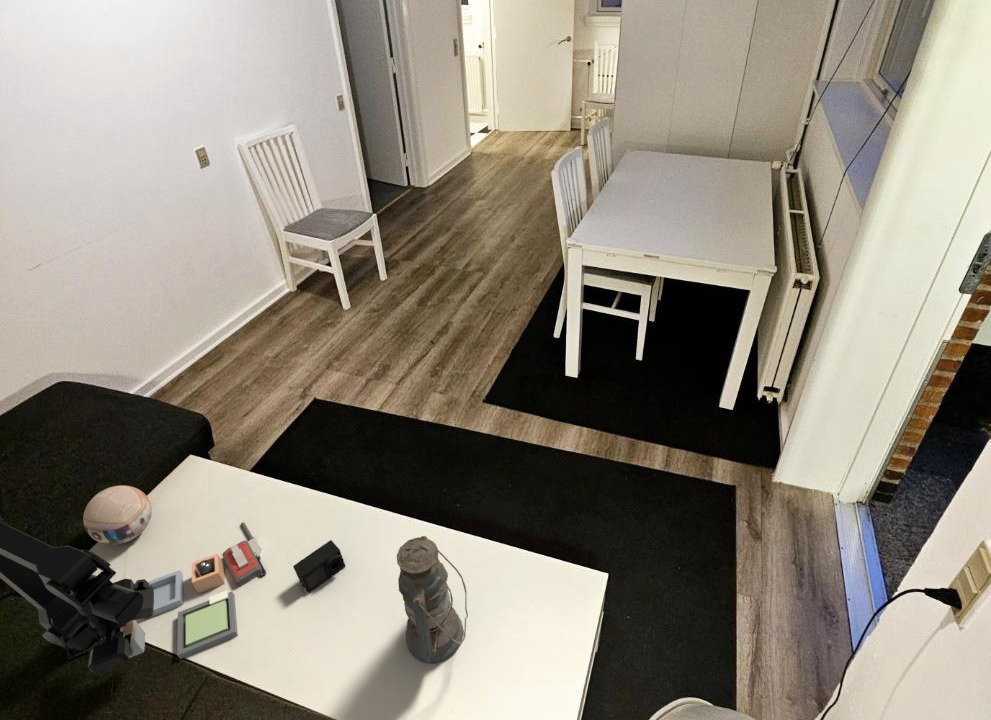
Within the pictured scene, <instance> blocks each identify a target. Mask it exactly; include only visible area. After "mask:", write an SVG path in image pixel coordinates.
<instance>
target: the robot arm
mask: <svg viewBox="0 0 991 720" xmlns="http://www.w3.org/2000/svg"><path fill="white" fill-rule="evenodd" d="M98 569H99V570H100V573H98V575H95V574H94V573H96V572H97V571H98ZM116 574H117V572H116V571H115V570H114V569H113V568H111V563H110V562H108V561H107V560H105V559H103V557H101V556H99V555H98V554H97V553H95V552H93V551H91V550H88V549H78V548H75V547H72V546H70V545H64V546H55V547H54V546H52V545H50V544H48V543H45V542H44V541H42V540H40V539H37V538H35V537H34V536H32V535H29V534H27V533H25V532H23V531H21V530H19V529H17V528H15V527H13V526H11V525H9V523H8V522H7V521H5V520H4V519H3V518H2V517H1V516H0V579H1V580H2V581H3V582H5V583H6V584H7V585H8V586H10V587H11V588H12V589H13V590H14V591H16V592H17V593H18V594H20V596H22V597H23V598H24V599H25V600H26V601H28V602H29V603H30V604H31V605H32V606H33V607H35V608H36V609H37V611H38V612H37V615H38V623H39V625H41V626H42V627H43V628H44V629H45V632H44V633H43V634H42V635H41V637H42V638H44V639H45V640H46V641H48V642H49V643H51V644H54V645H57V646H60V647H62V648H64V649H65V650H66V651H67V655H66V659H67V660H68V659H70V660H72V659H71V658H73V657H75V654H76V655H77V653H80V652H83V651H84V650H86V649H88V648H90V647H91V646H92V645H94V643H96V642H98V641H100V639H101V640H104V642H103V643H101V644H99V645H98V646H95V647H93V649H92V650H91V651H90V652H89V659H88V666H87V668H88V669H89V671H90V672H92V673H93V674H95V675H96V674H99V673H101V672H104V671H106V670H107V671H108V670H109V669H112V668H115V667H116V666H119V665H121V664H123V663H126V662H127V660H128V659H130V658H129V656H130V655H132V650H131V648H130V644H131V633H130V634H128V635H124V632H121V627H124V626H127V623H129V622H130V621H132V620H138V619H144V620H148V619H150V618H152V617H154V616H153V613H154V588H153V587H152V586H149V583H148V582H149V581H147V580H146V579H145V578H143V579H137V580H136V581H135V582H134V581H133V580H132V578H131V579H130V578H123V579H121V580H120V579H119V580H118V581H115V582H112V578H113V577H114V576H115V575H116ZM74 652H75V653H74ZM69 656H70V657H69ZM75 658H76V657H75ZM73 659H74V658H73Z"/></svg>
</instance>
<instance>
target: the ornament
mask: <svg viewBox="0 0 991 720" xmlns="http://www.w3.org/2000/svg"><path fill="white" fill-rule="evenodd" d="M152 512H153V510H152V504H151V502H150V500H149V497H148V496H147V494H145V493H144V491H142V490H140V489H139V488H137V487H134V486H130V485H115V486H114V485H113V486H110V487H107V488H104V489H103V490H101V491H99V492H98V493H97V494H95V495H94V496H93V497H92V498H91V500H90V501H88V503H87V505H86V507H85V509H84V512H83V516H82V521H83V526H84V529H85V531H86V533H87V534H88V535H89V536H90V537H91V538H92V539H93V540H94V541H96V542H99V543H101V544H104V545H120V544H121V545H122V544H124V543H127V542H130V541H132V540H134V539H135V538H137V537H138V536H139V535H141V534H142V533H143V532H144V531H145V530H146V529H147V527H148V525H149V523H150V521H151V518H152Z"/></svg>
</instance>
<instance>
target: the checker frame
mask: <svg viewBox="0 0 991 720" xmlns="http://www.w3.org/2000/svg"><path fill="white" fill-rule="evenodd" d="M208 598H209V599H208V600H206V601H204V602H202V603H199V604H196V605H194V606H193V605H192V606H191V607H188V608H186V609H185V608H184V609H183V610H181V611H178V612H177V638H176V639H177V641H176V642H177V645H176V646H177V649H176V652H177V654H176V655H177V657H178V658H179V660H183V659H184V658H187V657H189V656H191V655H193V654H197V653H198V652H201V651H203V650H206V649H208V648H211V647H213V646H216V645H218V644H221V643H224V642H225V641H227V640H228V641H229V640H231V639H232V638H235V637H237V636H238V635H239V634H238V624H237V623H238V621H237V610H236V609H237V608H236V597H235V593H234V591H228V589H227V590H223V591H221V592H218V593H216V594H213V595H211V596H209V597H208ZM224 600H225V601H226V603H228V614H229V627H230V628H229V629H228V630H227V631H225V632H222V633H220V634H217V635H215V636H212V637H210V638H208V639H205V640H203V641H200V642H198V643H195V644H193V645H190V646H188V647H187V646H186V615H189V614H191V613H194V612H196V611H199V610H201V609H204V608H206V607H209V606H212V605H214V604H217V603H219V602H222V601H224Z"/></svg>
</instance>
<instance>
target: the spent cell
mask: <svg viewBox="0 0 991 720" xmlns="http://www.w3.org/2000/svg"><path fill="white" fill-rule="evenodd" d="M197 568H198V570H199V572H200V574H201V575H202V576H204V575H207V574H209V573H212V572H215V571H214V569H213V567H212V565H211V564H210V562H209V561H208V560H203V561H201V562H200V563H199V564H198V566H197Z"/></svg>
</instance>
